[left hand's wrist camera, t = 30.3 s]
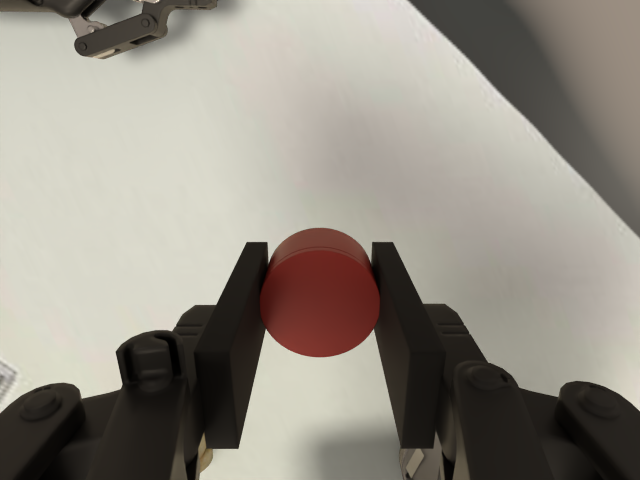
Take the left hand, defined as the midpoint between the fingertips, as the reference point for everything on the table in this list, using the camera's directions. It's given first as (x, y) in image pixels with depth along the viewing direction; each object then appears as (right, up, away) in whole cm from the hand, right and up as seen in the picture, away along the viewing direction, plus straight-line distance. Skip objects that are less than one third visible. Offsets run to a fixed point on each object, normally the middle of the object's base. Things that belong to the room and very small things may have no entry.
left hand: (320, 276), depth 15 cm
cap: (0, -1, -2) cm, 2 cm away
